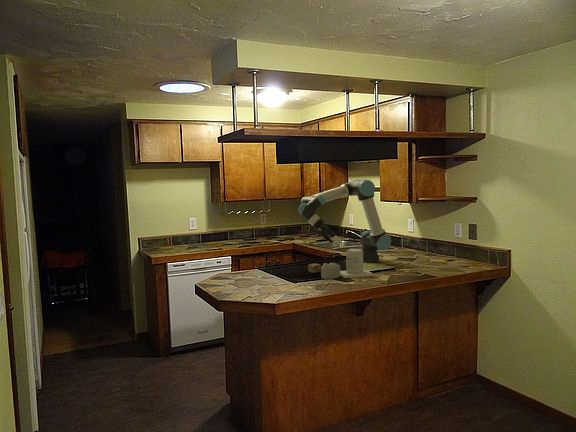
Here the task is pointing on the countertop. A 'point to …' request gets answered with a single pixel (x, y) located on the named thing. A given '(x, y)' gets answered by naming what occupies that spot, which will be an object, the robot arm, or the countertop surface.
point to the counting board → (362, 274)
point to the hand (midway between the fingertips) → (338, 244)
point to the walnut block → (314, 268)
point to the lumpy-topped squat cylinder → (330, 271)
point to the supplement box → (354, 261)
